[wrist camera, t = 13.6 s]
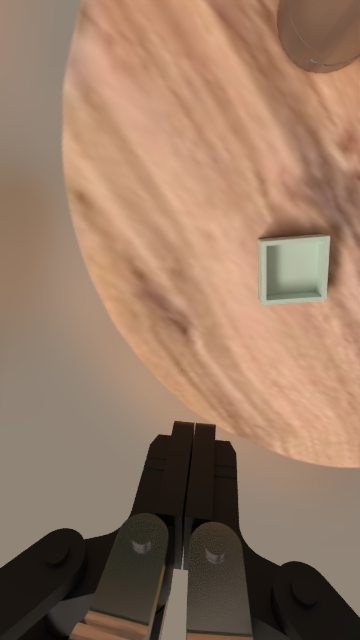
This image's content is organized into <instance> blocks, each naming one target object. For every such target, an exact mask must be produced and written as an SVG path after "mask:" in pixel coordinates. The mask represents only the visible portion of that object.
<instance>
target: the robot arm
mask: <svg viewBox="0 0 360 640" xmlns="http://www.w3.org/2000/svg"><path fill="white" fill-rule="evenodd" d="M277 26H278V33H279V38H280V41H281V44H282V46H283V49H284V51H285V52H286V54H287V55H288V57H289V58H290V59H291V60H292V61H293V62H294V63H295V64H296V65H297V66H299V67H300V68H302V69H304V70H306V71H310V72H313V73H328V72H332V71H336V70H339V69H341V68H343V67H345V66H347V65H348V64H349V63H351V62H352V61H353V60H355V59H356V58H357V57H358V56H359V55H360V0H280V2H279V7H278V17H277ZM215 428H216V425H213V424H202V423H196V426H195V434H194V423H190V422H181V421H175V422H174V425H173V431H172V435H171V436H170V435H160V434H159V435H158V436H157V437H156V438H155V439H154V441H153V442H152V443H151V444H150V447H149V451H148V454H147V459H146V461H145V465H144V470H143V472H142V476H141V479H140V483H139V486H138V490H137V494H136V497H135V501H134V504H133V508H132V511H131V514H130V516H129V518H128V519H127V520H126V521H125V522H124V523H123V524H122V526H121V527H120V528H118V529H117V530H116V531H114V532H112V533H110V534H107V535H103V536H99V537H94V538H89V539H83V537H82V535H81V534H80V533H79V532H77V531H75V530H73V529H68V528H63V529H58V530H55V531H53V532H50V533H49V534H47V535H46V536H44V537H43V538H42V539H40V540H39V541H37V542H36V543H35V544H33V545H32V546H30V547H29V548H28V549H26V550H25V551H23V552H22V553H21V554H19V555H18V556H17V557H15V558H14V559H13V560H11V561H10V562H8V563H7V564H6V565H4V566H3V567H1V568H0V640H161V636H162V630H163V626H164V620H165V616H166V610H167V606H168V599H169V595H170V591H171V583H172V576H173V569H174V568H175V569H181V566H182V557H183V548H184V565H183V569H184V570H188V592H187V623H186V640H360V617H358V615H357V614H356V613H355V612H354V611H353V610H352V608H351V607H350V606H349V605H348V604H347V603H346V602H345V600H344V599H343V598H342V597H341V596H340V595H339V594H338V593H337V591H336V590H335V589H334V588H333V587H332V586H331V585H330V584H329V582H328V581H327V580H326V579H325V578H324V577H323V576H322V575H321V574H320V573H319V572H318V571H317V570H316V569H315V568H313V567H311V566H310V565H308V564H305V563H302V562H297V561H291V562H287V563H285V564H283V565H281V566H279V565H277V564H275V563H273V562H271V561H269V560H267V559H265V558H263V557H261V556H259V555H258V554H256V553H255V552H254V551H253V550H252V549H251V548H250V547H249V546H248V545H247V544H246V542H245V541H244V539H243V537H242V535H241V532H240V529H239V512H238V489H237V462H236V452H235V450H234V449H233V447H232V445H231V443H230V442H229V441H220V440H215Z"/></svg>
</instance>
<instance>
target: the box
mask: <svg viewBox="0 0 360 640" xmlns="http://www.w3.org/2000/svg"><path fill="white" fill-rule="evenodd" d="M329 249H330V236H329V235H325V234H313V235H301V236H289V237H277V238H265V239H258V299H259V301H260V303H261V304H262V305H269V304H284V303H300V302H315V301H326V296H327V281H328V265H329Z"/></svg>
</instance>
